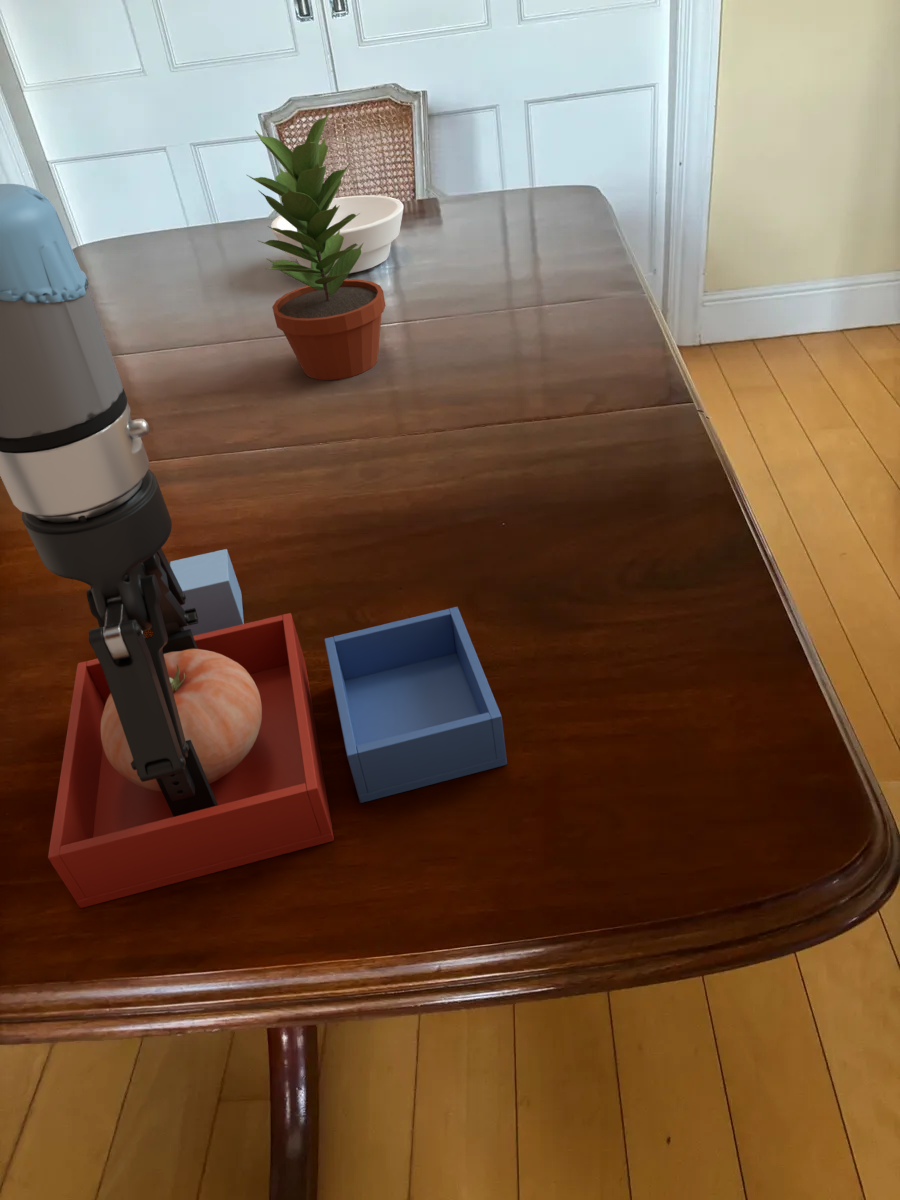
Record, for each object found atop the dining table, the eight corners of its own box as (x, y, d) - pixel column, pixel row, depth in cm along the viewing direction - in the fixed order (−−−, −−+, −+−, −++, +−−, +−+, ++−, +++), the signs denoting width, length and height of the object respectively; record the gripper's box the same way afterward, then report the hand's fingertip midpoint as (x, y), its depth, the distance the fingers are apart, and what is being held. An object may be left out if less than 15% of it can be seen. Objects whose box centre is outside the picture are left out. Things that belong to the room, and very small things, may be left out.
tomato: (139, 713, 68) (102, 633, 63) (279, 694, 68) (254, 613, 63) (106, 828, 60) (61, 746, 55) (267, 807, 59) (236, 723, 55)
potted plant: (263, 371, 122) (200, 127, 103) (352, 334, 129) (308, 99, 110) (324, 400, 112) (266, 137, 94) (417, 358, 119) (380, 105, 101)
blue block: (186, 639, 77) (168, 594, 74) (186, 606, 81) (169, 561, 78) (244, 626, 78) (228, 580, 75) (241, 593, 82) (226, 548, 78)
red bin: (80, 908, 57) (47, 858, 53) (102, 712, 71) (77, 662, 68) (334, 841, 58) (317, 787, 55) (305, 662, 73) (290, 612, 70)
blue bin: (360, 803, 61) (346, 755, 58) (336, 684, 70) (324, 638, 67) (507, 765, 62) (501, 716, 59) (464, 653, 71) (457, 606, 69)
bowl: (424, 240, 161) (418, 191, 155) (389, 285, 144) (381, 231, 139) (308, 246, 166) (298, 198, 161) (261, 290, 149) (249, 238, 144)
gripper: (146, 590, 42) (260, 874, 55) (159, 393, 60) (242, 642, 73) (-20, 628, 41) (137, 906, 54) (44, 415, 59) (150, 664, 72)
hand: (197, 755), depth 64 cm, fingers closed on tomato, 11 cm apart
